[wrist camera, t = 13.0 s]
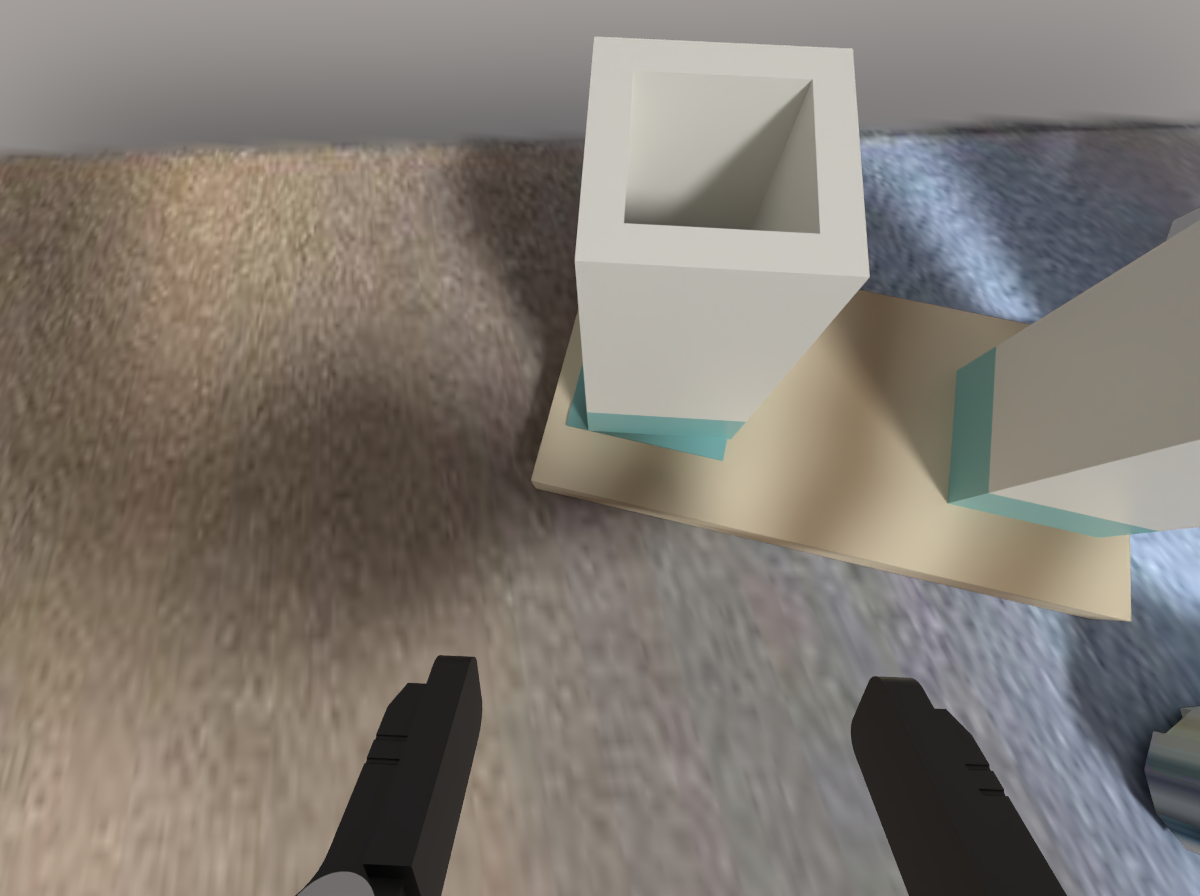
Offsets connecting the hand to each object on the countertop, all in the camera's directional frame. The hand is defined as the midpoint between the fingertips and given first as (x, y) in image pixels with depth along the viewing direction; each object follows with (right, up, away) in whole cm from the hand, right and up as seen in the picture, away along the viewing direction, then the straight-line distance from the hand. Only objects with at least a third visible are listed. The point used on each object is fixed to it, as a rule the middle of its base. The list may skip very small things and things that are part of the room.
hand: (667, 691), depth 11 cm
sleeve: (+1, +8, +8) cm, 12 cm away
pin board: (+7, +6, +9) cm, 13 cm away
